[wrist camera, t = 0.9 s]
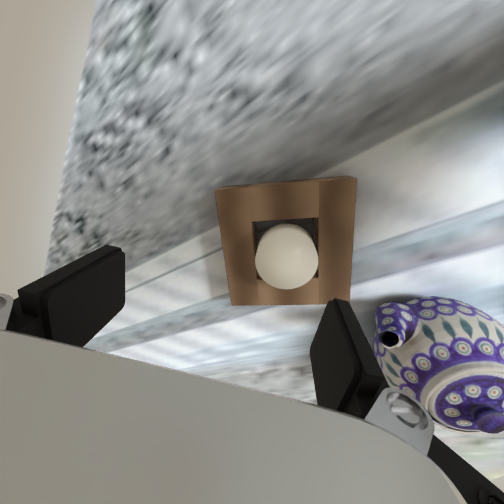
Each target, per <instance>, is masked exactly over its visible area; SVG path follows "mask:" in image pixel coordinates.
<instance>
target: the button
mask: <svg viewBox="0 0 504 504" xmlns="http://www.w3.org/2000/svg"><path fill="white" fill-rule="evenodd" d="M255 265H256V269H257V271H258V274H259V275H260V277H261V278H262V279H263V280H264V281H265V282H266V283H268V284H269V285H271V286H273V287H276V288H279V289H294V288H298V287H300V286H303V285H304V284H306V283H307V282H308V281H310V280H311V279H312V277H313V276H314V274H315V273H316V270H317V267H318V254H317V251H316V248H315V245H314V243H313V240H312V238H311V236H310V235H309V233H308V232H307V231H306V230H304V229H303V228H301V227H299V226H297V225H294V224H279V225H276V226H273V227H272V228H270V229H269V230H267V231H266V232H265V233H264V234H263V236H262V237H261V239H260V242H259V245H258V249H257V253H256V257H255Z"/></svg>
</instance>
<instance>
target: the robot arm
mask: <svg viewBox="0 0 504 504" xmlns="http://www.w3.org/2000/svg"><path fill="white" fill-rule="evenodd" d="M18 295H19V297H18V298H16V299H14V300H13V298H12V297H10V296H9V295H6V294H0V504H504V493H503V492H502V491H501V490H500V489H499V488H497V487H496V486H495V485H494V484H493V483H491V482H490V481H489V480H488V479H487V478H485V477H484V476H483V475H482V474H481V473H479V472H478V471H477V470H476V469H474V468H473V467H472V466H471V465H470V464H468V463H467V462H466V461H465V460H464V459H462V458H461V457H460V456H459V455H458V454H456V453H455V452H454V451H453V450H452V449H450V448H449V447H448V446H447V445H445V444H444V443H443V442H442V441H441V440H439V439H438V438H437V437H436V436H435V435H433V433H434V422H433V420H432V417H431V415H430V414H429V412H428V411H427V409H426V408H425V407H424V406H423V405H422V404H421V403H420V402H419V401H418V400H417V399H415V398H414V397H413V396H411V395H410V394H408V393H407V392H405V391H402V390H400V389H398V388H392V387H390V386H389V384H388V382H387V380H386V378H385V376H384V374H383V372H382V370H381V368H380V366H379V363H378V361H377V359H376V357H375V355H374V353H373V351H372V349H371V347H370V345H369V343H368V340H367V338H366V337H365V335H364V333H363V331H362V329H361V327H360V324H359V322H358V320H357V318H356V316H355V314H354V312H353V310H352V308H351V306H350V303H349V302H348V301H346V300H341V299H337V298H334V299H333V301H332V300H329V301H328V303H327V306H326V308H325V311H324V313H323V316H322V319H321V321H320V324H319V326H318V329H317V331H316V334H315V337H314V339H313V342H312V344H311V347H310V358H311V365H312V371H313V378H314V384H315V391H316V397H317V404H318V405H315V404H311V403H307V402H303V401H299V400H295V399H291V398H288V397H284V396H280V395H276V394H272V393H268V392H264V391H260V390H256V389H252V388H248V387H244V386H240V385H236V384H232V383H228V382H224V381H220V380H216V379H212V378H208V377H203V376H199V375H195V374H191V373H187V372H183V371H179V370H175V369H171V368H167V367H162V366H158V365H154V364H150V363H146V362H142V361H138V360H134V359H129V358H125V357H121V356H117V355H113V354H108V353H104V352H100V351H96V350H91V349H87V348H83V346H85V345H86V344H87V343H88V342H89V341H90V340H91V339H92V338H93V337H94V336H95V335H96V334H97V333H98V332H99V331H100V330H101V329H102V328H103V327H104V326H105V325H106V324H107V323H108V322H109V321H110V320H111V319H112V318H113V317H114V316H115V315H116V314H117V313H118V312H120V311H121V310H122V308H123V307H124V304H125V253H124V252H122V250H121V248H119V247H114V246H110V245H105V246H103V247H101V248H99V249H97V250H95V251H93V252H91V253H89V254H87V255H85V256H83V257H81V258H79V259H77V260H75V261H73V262H71V263H69V264H67V265H65V266H64V267H62V268H60V269H58V270H56V271H54V272H52V273H50V274H48V275H46V276H44V277H42V278H40V279H38V280H37V281H34V282H32V283H30V284H28V285H26V286H24V287H22V288H20V289H18Z"/></svg>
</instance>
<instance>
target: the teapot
mask: <svg viewBox="0 0 504 504" xmlns="http://www.w3.org/2000/svg"><path fill="white" fill-rule="evenodd" d="M375 324H376V333H375V336H374V344H373V347H374V355H375V357H376V359H377V361H378V363H379V366H380V368H381V370H382V372H383V374H384V376H385V378H386V380H387V382H388V384H389V386H390V387H392V388H398V389H400V390H402V391H405V392H407V393H408V394H410V395H411V396H413V397H414V398H415V399H417V400H418V401H419V402H420V403H421V404H422V405H423V406H424V407H425V408H426V409H427V411H428V412H429V414H430V415H431V417H432V420H433V422H434V424H436V425H438V426H440V427H442V428H444V429H446V430H449V431H453V432H457V433H462V434H475V433H485V432H487V433H492V434H494V433H499V432H502V431H504V326H502V325H501V324H500V323H499V322H498V321H496V320H495V319H494V318H492V317H490V316H489V315H487V314H486V313H484V312H482V311H481V310H479V309H477V308H475V307H473V306H471V305H468V304H466V303H463V302H461V301H458V300H454V299H450V298H445V297H435V296H432V297H425V298H418V299H413V300H410V301H408V302H406V303H397V302H388V303H385V304H382V305H380V306H379V307H378V308H377V310H376V313H375ZM387 331H391V332H394V333H395V334H397V335H398V337H399V339H397V340H395V341H388V340H386V339H384V338H383V335H384V334H385V333H386V332H387Z"/></svg>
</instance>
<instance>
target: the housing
mask: <svg viewBox="0 0 504 504" xmlns="http://www.w3.org/2000/svg"><path fill="white" fill-rule="evenodd" d="M356 185H357V179H356V178H353V177H350V176H339V177H328V178H316V179H305V180H294V181H282V182H271V183H259V184H248V185H237V186H225V187H221V188H219V189H217V190H215V198H216V205H217V211H218V218H219V225H220V231H221V238H222V245H223V251H224V258H225V265H226V271H227V278H228V285H229V291H230V298H231V305H232V306H238V305H307V304H327V303H328V301H329V300H332V301H333V299H334V298H337V299H341V300H346V301H348V302H350V286H351V269H352V252H353V235H354V218H355V202H356ZM300 218H315V248H316V251H317V254H318V267H317V270H316V273H315V274H314V276H313V277H312V279H311V280H310V281H308V282H307V283H306V284H304V285H303V286H300V287H298V288H294V289H279V288H276V287H273V286H271V285H269V284H268V283H266V282H265V281H264V280H263V279H262V278H261V277H260V275H259V274H258V271H257V269H256V265H255V257H256V253H257V249H258V244H257V233H256V223H255V221H269V220H285V219H300Z"/></svg>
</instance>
